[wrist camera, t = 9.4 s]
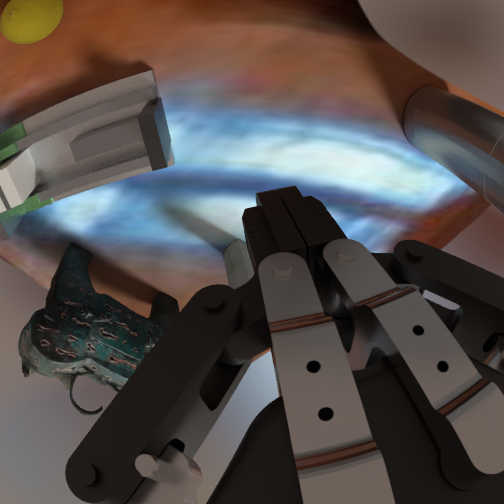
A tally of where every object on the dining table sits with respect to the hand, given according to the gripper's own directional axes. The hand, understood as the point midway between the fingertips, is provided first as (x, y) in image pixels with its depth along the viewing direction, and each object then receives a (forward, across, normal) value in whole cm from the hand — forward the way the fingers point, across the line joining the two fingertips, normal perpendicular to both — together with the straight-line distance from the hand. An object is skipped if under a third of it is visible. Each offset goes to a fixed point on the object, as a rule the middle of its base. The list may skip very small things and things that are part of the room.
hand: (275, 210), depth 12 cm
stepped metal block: (+19, +10, 0) cm, 21 cm away
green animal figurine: (+21, +18, +18) cm, 33 cm away
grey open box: (+21, +16, 0) cm, 26 cm away
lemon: (+21, +15, -15) cm, 30 cm away
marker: (+19, +22, 0) cm, 30 cm away
